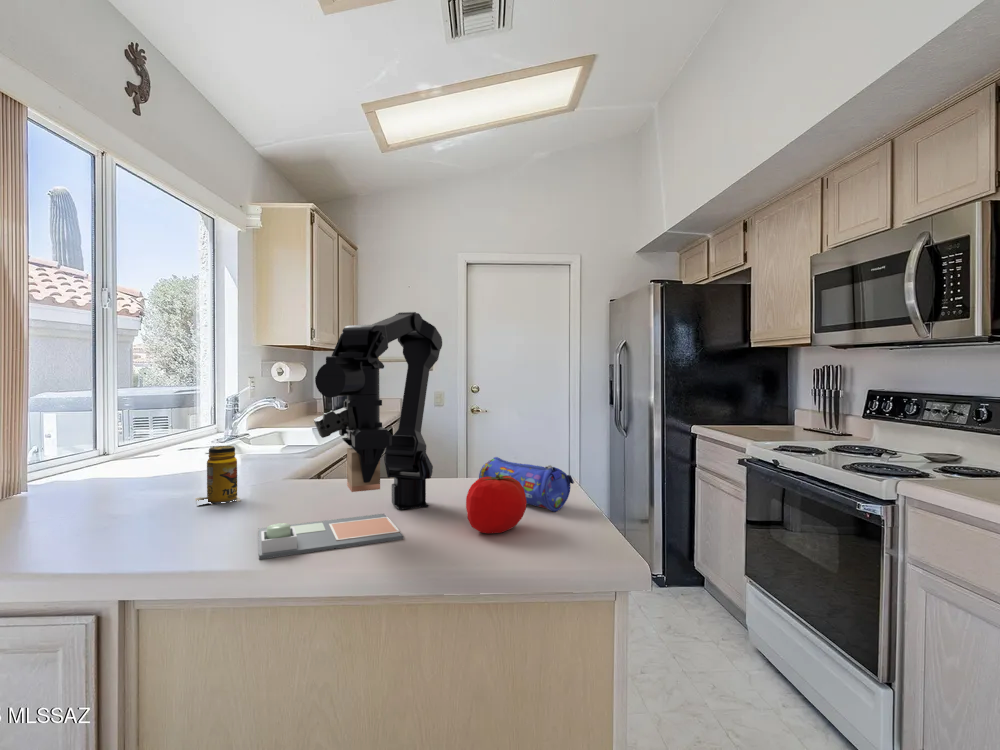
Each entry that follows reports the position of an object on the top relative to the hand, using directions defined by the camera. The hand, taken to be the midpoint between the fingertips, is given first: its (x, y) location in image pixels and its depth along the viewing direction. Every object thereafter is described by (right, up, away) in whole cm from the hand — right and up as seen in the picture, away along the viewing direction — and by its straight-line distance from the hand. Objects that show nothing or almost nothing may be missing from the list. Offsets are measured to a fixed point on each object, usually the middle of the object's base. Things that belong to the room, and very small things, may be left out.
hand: (363, 479), depth 96 cm
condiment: (-38, -9, +22) cm, 45 cm away
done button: (-12, -8, -9) cm, 17 cm away
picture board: (-6, -10, -2) cm, 11 cm away
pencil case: (+30, -10, +21) cm, 38 cm away
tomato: (+24, -10, +2) cm, 26 cm away
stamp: (0, -2, 0) cm, 2 cm away
